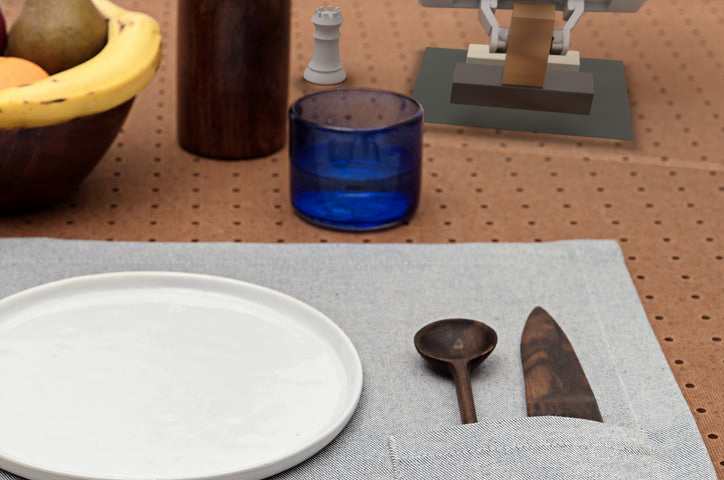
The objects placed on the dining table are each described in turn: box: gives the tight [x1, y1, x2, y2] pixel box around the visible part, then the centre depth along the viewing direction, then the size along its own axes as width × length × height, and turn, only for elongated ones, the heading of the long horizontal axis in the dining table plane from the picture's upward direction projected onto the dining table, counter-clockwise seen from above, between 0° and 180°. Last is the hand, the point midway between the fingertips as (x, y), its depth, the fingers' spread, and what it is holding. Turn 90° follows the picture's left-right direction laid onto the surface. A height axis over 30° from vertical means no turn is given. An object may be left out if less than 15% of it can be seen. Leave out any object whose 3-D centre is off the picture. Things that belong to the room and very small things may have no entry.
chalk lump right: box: [546, 50, 580, 72], centre depth 109 cm, size 4×4×1 cm
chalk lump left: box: [466, 43, 506, 66], centre depth 110 cm, size 4×4×1 cm
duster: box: [450, 2, 594, 115], centre depth 95 cm, size 12×5×8 cm, turn 75°
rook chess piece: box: [302, 5, 347, 86], centre depth 106 cm, size 4×4×8 cm
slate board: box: [411, 46, 634, 142], centre depth 105 cm, size 20×20×1 cm
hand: (528, 52), depth 94 cm, fingers closed on duster, 4 cm apart
